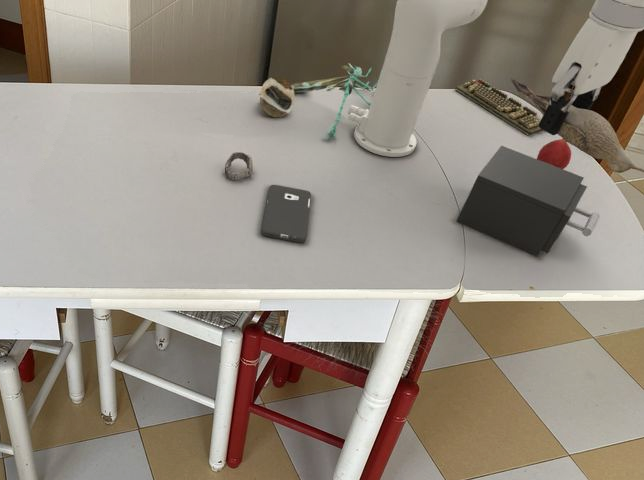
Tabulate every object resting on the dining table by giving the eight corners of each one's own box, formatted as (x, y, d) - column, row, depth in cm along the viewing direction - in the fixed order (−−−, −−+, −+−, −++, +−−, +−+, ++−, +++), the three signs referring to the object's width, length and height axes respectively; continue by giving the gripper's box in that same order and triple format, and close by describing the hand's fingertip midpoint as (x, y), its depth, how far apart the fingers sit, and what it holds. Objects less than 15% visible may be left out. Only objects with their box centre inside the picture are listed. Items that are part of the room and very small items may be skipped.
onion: (528, 175, 136) (547, 139, 130) (532, 162, 140) (551, 126, 134) (558, 185, 135) (579, 149, 129) (561, 171, 138) (582, 135, 132)
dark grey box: (556, 222, 126) (584, 177, 119) (537, 257, 119) (565, 210, 112) (479, 190, 131) (501, 145, 124) (456, 221, 124) (478, 175, 117)
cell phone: (306, 239, 115) (305, 244, 116) (312, 190, 125) (310, 195, 126) (261, 230, 116) (260, 235, 116) (270, 182, 125) (269, 187, 126)
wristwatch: (234, 159, 131) (258, 167, 129) (220, 180, 128) (244, 188, 127) (235, 144, 128) (259, 152, 127) (220, 165, 125) (245, 174, 124)
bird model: (642, 165, 98) (622, 192, 102) (671, 155, 99) (650, 183, 103) (506, 61, 113) (493, 89, 117) (533, 55, 114) (520, 82, 118)
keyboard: (453, 89, 159) (456, 81, 157) (480, 82, 162) (483, 73, 161) (527, 136, 147) (531, 127, 145) (554, 127, 150) (559, 118, 149)
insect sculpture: (266, 140, 143) (296, 72, 162) (361, 155, 139) (381, 83, 157) (268, 114, 139) (298, 47, 157) (366, 128, 134) (386, 57, 152)
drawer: (588, 232, 123) (612, 196, 117) (571, 264, 117) (596, 227, 111) (492, 192, 129) (511, 156, 123) (471, 221, 123) (490, 184, 117)
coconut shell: (293, 118, 145) (277, 114, 150) (299, 78, 141) (283, 76, 147) (260, 116, 141) (245, 112, 147) (266, 76, 138) (250, 73, 143)
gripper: (629, -9, 103) (569, 103, 116) (564, 10, 95) (507, 127, 109) (676, 10, 99) (608, 124, 113) (612, 32, 92) (547, 151, 105)
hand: (559, 124), depth 111 cm, fingers closed on bird model, 6 cm apart
